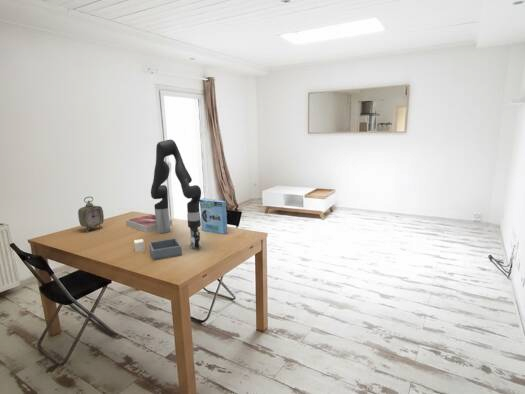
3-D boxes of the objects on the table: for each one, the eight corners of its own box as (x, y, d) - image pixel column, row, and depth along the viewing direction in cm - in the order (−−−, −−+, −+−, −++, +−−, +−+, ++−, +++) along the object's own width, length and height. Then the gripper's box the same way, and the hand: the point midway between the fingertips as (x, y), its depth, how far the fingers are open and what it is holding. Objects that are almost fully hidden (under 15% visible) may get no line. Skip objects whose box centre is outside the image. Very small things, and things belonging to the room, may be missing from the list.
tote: (149, 251, 191) (149, 242, 190) (176, 246, 198) (175, 238, 197) (153, 260, 178) (152, 250, 176) (181, 255, 184) (181, 246, 183)
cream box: (134, 248, 196) (133, 240, 195) (143, 247, 198) (142, 238, 197) (135, 252, 191) (134, 243, 190) (144, 250, 193) (143, 241, 192)
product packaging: (152, 220, 262) (151, 214, 261) (172, 226, 244) (171, 219, 243) (126, 226, 246) (126, 219, 245) (146, 233, 228) (145, 226, 227)
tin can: (190, 247, 197) (189, 236, 195) (199, 245, 199) (198, 234, 198) (192, 250, 192) (191, 239, 190) (201, 248, 194) (200, 237, 193)
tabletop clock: (86, 233, 228) (81, 199, 222) (79, 231, 232) (74, 198, 227) (105, 228, 240) (101, 195, 235) (97, 226, 244) (93, 194, 239)
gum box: (227, 232, 224) (226, 200, 220) (223, 234, 220) (221, 202, 215) (205, 228, 234) (204, 198, 229) (201, 230, 229) (199, 199, 225)
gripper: (184, 216, 197) (186, 243, 200) (190, 222, 184) (192, 250, 187) (197, 215, 200) (198, 241, 203) (203, 220, 187) (205, 248, 190)
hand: (195, 245), depth 195 cm, fingers closed on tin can, 5 cm apart
